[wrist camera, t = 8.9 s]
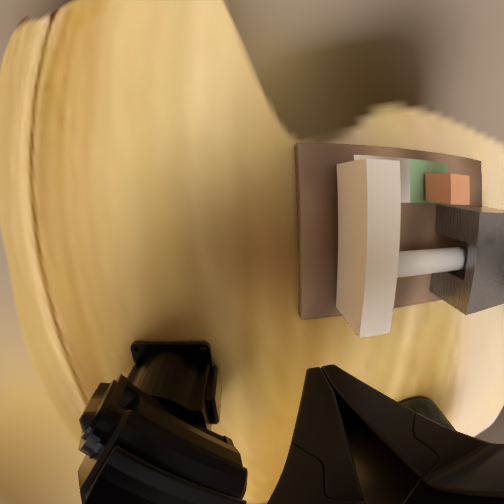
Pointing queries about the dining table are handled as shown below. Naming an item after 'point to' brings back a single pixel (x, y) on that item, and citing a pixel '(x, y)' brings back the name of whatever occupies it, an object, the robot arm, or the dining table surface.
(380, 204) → the plunger
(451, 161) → the base
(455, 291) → the notched steel block
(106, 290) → the dining table surface
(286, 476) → the robot arm
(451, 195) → the peach cube
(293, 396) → the dining table surface
